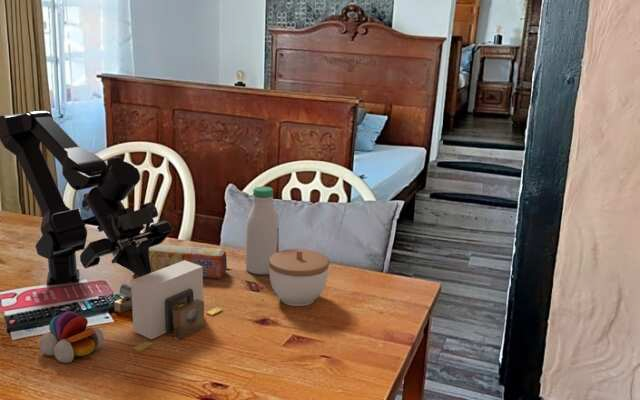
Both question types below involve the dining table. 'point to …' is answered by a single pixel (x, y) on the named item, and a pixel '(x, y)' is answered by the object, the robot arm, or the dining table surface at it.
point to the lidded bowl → (298, 275)
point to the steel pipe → (183, 315)
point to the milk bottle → (261, 232)
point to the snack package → (189, 258)
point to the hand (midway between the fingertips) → (149, 279)
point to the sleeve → (164, 296)
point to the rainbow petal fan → (70, 337)
